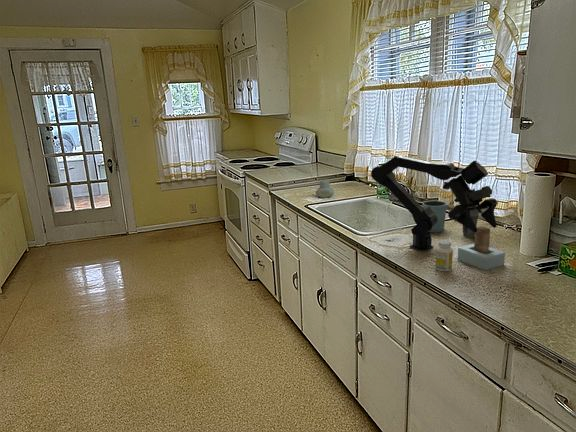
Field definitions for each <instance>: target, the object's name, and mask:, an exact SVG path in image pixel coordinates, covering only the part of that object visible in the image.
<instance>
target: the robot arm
mask: <svg viewBox="0 0 576 432" xmlns="http://www.w3.org/2000/svg"><path fill="white" fill-rule="evenodd" d="M398 168H402V169H407V170H411V171H416V172H421V173H425V174H427V175H430V176H432V177H433V178H435V179H438V180H440V181H444V182H443V185H442V189H443V190H447V191H448V190H450V191H451V193H452V194H453V196H454V197H455V199H454V202H455V203H458V204H456V205H455V206H453V208H451V209H450V210H449V211H448V218H449V220H451V221H454V222H457V223H459V224H461V225H462V226H463V225H464V226H466V227H467V228H469V229H470V230H472V231H474V232H477V231H478V230H477V228H476V227H477V226H475V224H474V222H473V221H472V219H471V217H470V212H472V211H477V210H478V211H479V214H480V216H481V217H482V218H483V219H484V220H485V221H486V222H487V223H488V224H489V225H490V226H491V227H492V228H494V229H495V228H497V227H498V226H497V221H496V217H495V209H496V208H497V206H498V204H499V202H498V201H497V200H496V198H493V197H492V194H493V189H492V188H491V187H490V186H489V185H486V186H483V187H482V186H481V189H477V190H476V189H475V190H474V188H473V189H471V188H470V186H469V185H470V184H471V185H476V184H477V183H479V182H480V181H481V180H483V179H484V178H486V177H487V176H488V175H489V173H488V171H487V169H486V168H485V166H483V165H482V164H480V163H479V162H478V161H477V160H473V161H471V162H470V163H469V164H468V165H467V166H466V167H464V168H463V167H459V166H455V164H454V163H452V162H450V161H448V162H445V161H439V162H438V161H434V162H433V161H426V160H422V159H419V158H418V159H417V158H412V157H407V156H403V155H401V154H400V155H399V154H398V155H395V156H393V157H392V158H391V159H389V160H388V161H387V162H385V163H383V164H380V165H377V166H374V167H373V168H372V170H371V172H370V175H371V176H370V177H371V178H372V180H374V181H375V182H376V183H377V184H379V185H381V186H383V187H385V188H387V189H388V190H389V192H390V193H391V194H392V195H393V196H394V197H395V198H396V199H397V200H398V201H399V202H400V204H401V205H402V206H403V207H404V208H406V210H407V211H408V212H409V213H410V214H411V216H412V218H413V221H414V223H415V225H414V226H413V227H412V228H411V229H410V230H411V233H412V244H410V245H409V247H410V248H412V249H416V250H418V251H420V252H423V251H427V250H430V249H433V248H434V246H433V245H432V232H429V231H430V230H432V228H433V227H434V226H435V225H436V224H437V217H436V213H434V212H433V211H432V210H431V209H430V207H427V208H426V209H425V208H423V206H422V205H420V204H419V203H418V202H417V201H416V199H415V198H414V197H413V196H412V195H411V194H410V193H409V192H408V191H407V189H405V187H403V185H401V183H399V182H398V180H397V179H396V177H395V174H394V171H395V170H397V169H398ZM449 179H450V180H449ZM447 180H448V181H447ZM490 197H491V198H490ZM483 199H484V200H483Z"/></svg>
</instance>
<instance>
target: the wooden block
mask: <svg viewBox="0 0 576 432" xmlns="http://www.w3.org/2000/svg"><path fill="white" fill-rule="evenodd" d="M476 228H477V230H478V231H477V232H475V236H474V243H473V244H474V251H477V252H480V253H483V254H489V247H490V238H491V228H489V227H486V226H482V225H479V226H476Z"/></svg>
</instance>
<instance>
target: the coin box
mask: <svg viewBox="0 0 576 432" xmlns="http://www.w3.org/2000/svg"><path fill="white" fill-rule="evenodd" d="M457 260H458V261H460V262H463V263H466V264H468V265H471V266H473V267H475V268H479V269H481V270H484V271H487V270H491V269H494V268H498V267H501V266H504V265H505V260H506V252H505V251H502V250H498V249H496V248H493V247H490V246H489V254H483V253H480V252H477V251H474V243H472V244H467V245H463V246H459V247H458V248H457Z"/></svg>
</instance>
